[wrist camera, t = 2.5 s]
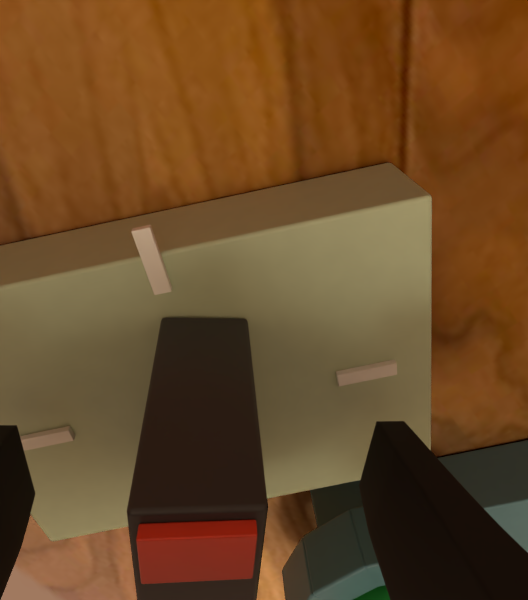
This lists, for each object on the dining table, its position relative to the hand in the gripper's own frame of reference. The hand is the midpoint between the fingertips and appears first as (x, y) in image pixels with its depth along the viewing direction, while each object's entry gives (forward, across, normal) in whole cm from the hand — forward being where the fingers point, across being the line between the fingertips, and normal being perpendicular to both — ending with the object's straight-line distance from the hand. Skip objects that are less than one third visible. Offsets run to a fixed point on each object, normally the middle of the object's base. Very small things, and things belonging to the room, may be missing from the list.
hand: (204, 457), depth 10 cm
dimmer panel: (+4, 0, 0) cm, 4 cm away
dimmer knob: (+2, 0, 0) cm, 2 cm away
